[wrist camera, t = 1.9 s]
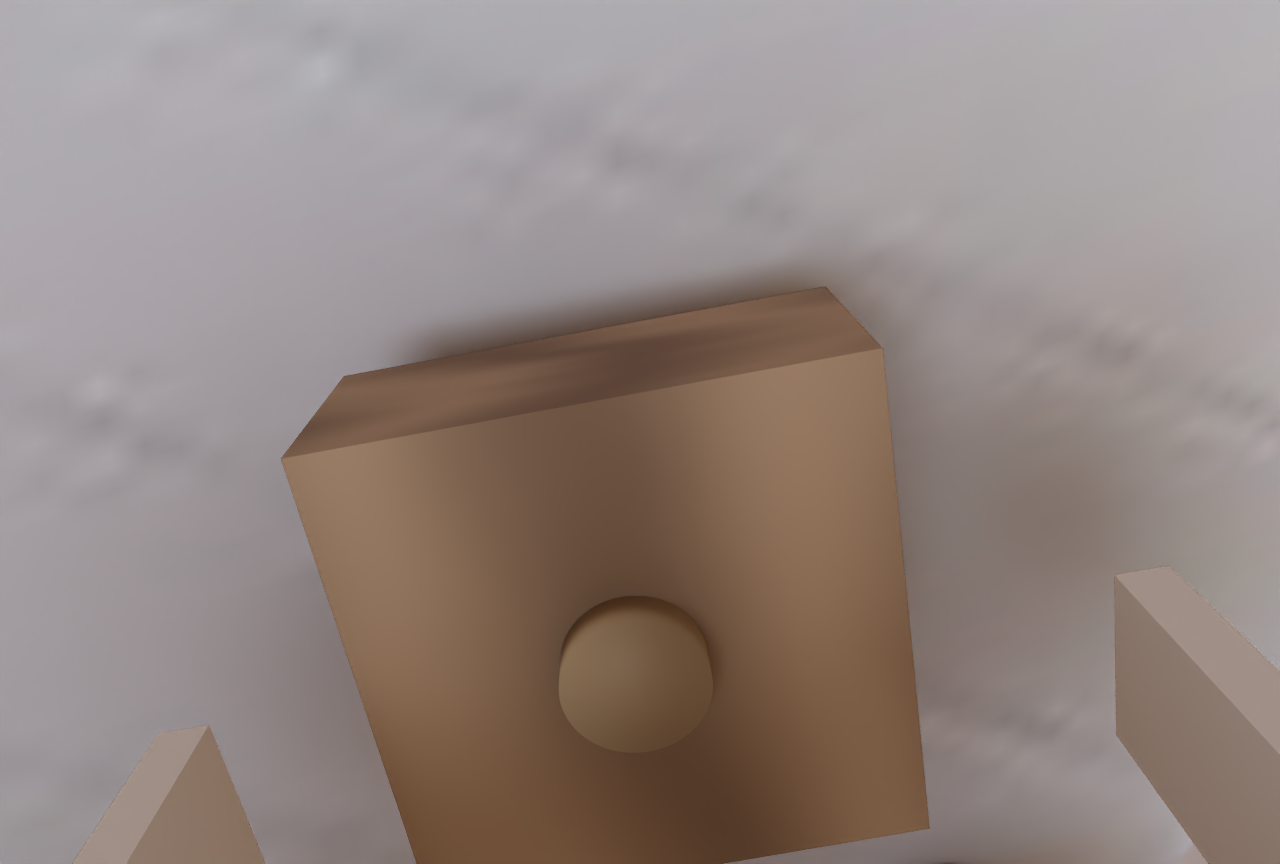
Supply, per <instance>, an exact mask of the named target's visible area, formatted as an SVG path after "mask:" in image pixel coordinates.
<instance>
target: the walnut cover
mask: <svg viewBox="0 0 1280 864" xmlns="http://www.w3.org/2000/svg"><path fill="white" fill-rule="evenodd" d="M281 461H282V464H283V467H284V470H285V473H286V476H287V479H288V482H289V485H290V488H291V491H292V494H293V497H294V500H295V503H296V506H297V509H298V512H299V515H300V518H301V520H302V523H303V526H304V529H305V532H306V535H307V538H308V541H309V544H310V547H311V550H312V553H313V556H314V559H315V562H316V565H317V568H318V571H319V574H320V577H321V580H322V583H323V586H324V589H325V592H326V595H327V598H328V601H329V604H330V607H331V610H332V613H333V616H334V619H335V622H336V625H337V628H338V631H339V633H340V636H341V639H342V642H343V645H344V648H345V651H346V654H347V657H348V660H349V663H350V666H351V669H352V672H353V675H354V678H355V681H356V684H357V687H358V690H359V693H360V696H361V699H362V702H363V705H364V708H365V711H366V714H367V717H368V720H369V723H370V726H371V729H372V732H373V735H374V738H375V741H376V744H377V746H378V749H379V752H380V755H381V758H382V761H383V764H384V767H385V770H386V773H387V776H388V779H389V782H390V785H391V788H392V791H393V794H394V797H395V800H396V803H397V806H398V809H399V812H400V815H401V818H402V821H403V824H404V827H405V830H406V833H407V836H408V839H409V842H410V845H411V848H412V851H413V854H414V857H415V859H416V862H417V864H723V863H729V862H735V861H741V860H747V859H753V858H758V857H764V856H770V855H776V854H782V853H788V852H794V851H800V850H805V849H811V848H817V847H823V846H829V845H835V844H841V843H847V842H852V841H858V840H864V839H870V838H876V837H882V836H888V835H894V834H900V833H905V832H911V831H917V830H923V829H929V828H930V827H929V817H928V807H927V796H926V786H925V776H924V766H923V756H922V745H921V735H920V725H919V715H918V704H917V694H916V684H915V674H914V664H913V653H912V643H911V633H910V623H909V613H908V602H907V592H906V582H905V572H904V561H903V551H902V541H901V531H900V521H899V510H898V500H897V490H896V480H895V470H894V459H893V449H892V439H891V429H890V418H889V408H888V398H887V388H886V378H885V367H884V357H883V348H882V347H881V346H880V345H879V344H878V343H877V342H876V340H875V339H874V338H873V337H872V336H871V335H870V334H869V333H868V332H867V331H866V330H865V329H864V328H863V326H862V325H861V324H860V323H859V322H858V321H857V320H856V319H855V318H854V317H853V316H852V315H851V314H850V313H849V311H848V310H847V309H846V308H845V307H844V306H843V305H842V304H841V303H840V302H839V301H838V300H837V299H836V297H835V296H834V295H833V294H832V293H831V292H830V291H829V290H828V289H827V288H826V287H820V288H815V289H810V290H804V291H799V292H793V293H788V294H783V295H777V296H772V297H767V298H761V299H756V300H751V301H745V302H740V303H734V304H729V305H724V306H718V307H713V308H708V309H702V310H697V311H691V312H686V313H681V314H675V315H670V316H665V317H659V318H654V319H648V320H643V321H638V322H632V323H627V324H622V325H616V326H611V327H606V328H600V329H595V330H589V331H584V332H579V333H573V334H568V335H563V336H557V337H552V338H546V339H541V340H536V341H530V342H525V343H520V344H514V345H509V346H503V347H498V348H493V349H487V350H482V351H477V352H471V353H466V354H461V355H455V356H450V357H444V358H439V359H434V360H428V361H423V362H418V363H412V364H407V365H401V366H396V367H391V368H385V369H380V370H375V371H369V372H364V373H359V374H353V375H348V376H344V377H343V378H342V379H341V381H340V382H339V383H338V385H337V386H336V387H335V389H334V390H333V391H332V393H331V394H330V395H329V396H328V398H327V399H326V400H325V402H324V403H323V404H322V406H321V407H320V408H319V410H318V411H317V412H316V413H315V415H314V416H313V417H312V419H311V420H310V421H309V423H308V424H307V425H306V427H305V428H304V429H303V430H302V432H301V433H300V434H299V436H298V437H297V438H296V440H295V441H294V442H293V444H292V445H291V446H290V447H289V449H288V450H287V451H286V453H285V454H284V455H283V457H282V458H281Z"/></svg>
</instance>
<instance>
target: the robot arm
mask: <svg viewBox="0 0 1280 864" xmlns="http://www.w3.org/2000/svg"><path fill="white" fill-rule="evenodd" d="M1114 596H1115V678H1116V735H1117V736H1118V738H1119V739H1120V741H1121V742H1122V744H1123V745H1124V746H1125V748H1126V749H1127V751H1128V752H1129V753H1130V755H1131V756H1132V758H1133V759H1134V760H1135V762H1136V763H1137V765H1138V766H1139V767H1140V769H1141V770H1142V772H1143V773H1144V774H1145V776H1146V777H1147V779H1148V780H1149V781H1150V783H1151V784H1152V786H1153V787H1154V788H1155V790H1156V791H1157V793H1158V794H1159V795H1160V797H1161V798H1162V800H1163V801H1164V802H1165V804H1166V805H1167V807H1168V808H1169V809H1170V811H1171V812H1172V814H1173V815H1174V816H1175V818H1176V819H1177V821H1178V822H1179V823H1180V825H1181V826H1182V828H1183V829H1184V830H1185V832H1186V833H1187V835H1188V836H1189V837H1190V839H1191V840H1192V842H1193V843H1194V844H1195V846H1196V847H1197V849H1198V850H1199V851H1200V853H1201V854H1202V856H1203V857H1204V858H1205V860H1206V861H1207V863H1208V864H1280V671H1279V670H1278V669H1277V668H1275V667H1274V666H1273V665H1272V664H1271V663H1270V662H1269V661H1268V660H1267V659H1266V658H1265V657H1264V656H1263V655H1262V654H1261V653H1260V652H1259V651H1258V650H1257V649H1256V648H1255V647H1254V646H1253V645H1251V644H1250V643H1249V642H1248V641H1247V640H1246V639H1245V638H1244V637H1243V636H1242V635H1241V634H1240V633H1239V632H1238V631H1237V630H1236V629H1235V628H1234V627H1233V626H1232V625H1231V624H1230V623H1229V622H1228V621H1226V620H1225V619H1224V618H1223V617H1222V616H1221V615H1220V614H1219V613H1218V612H1217V611H1216V610H1215V609H1214V608H1213V607H1212V606H1211V605H1210V604H1209V603H1208V602H1207V601H1206V600H1205V599H1204V598H1202V597H1201V596H1200V595H1199V594H1198V593H1197V592H1196V591H1195V590H1194V589H1193V588H1192V587H1191V586H1190V585H1189V584H1188V583H1187V582H1186V581H1185V580H1184V579H1183V578H1182V577H1181V576H1180V575H1178V574H1177V573H1176V572H1175V571H1174V570H1173V569H1172V568H1171V567H1170V566H1166V567H1160V568H1154V569H1148V570H1142V571H1136V572H1130V573H1124V574H1118V575H1114ZM72 864H265V861H264V859H263V856H262V854H261V852H260V849H259V847H258V844H257V842H256V839H255V837H254V834H253V832H252V829H251V827H250V825H249V822H248V820H247V817H246V815H245V812H244V810H243V807H242V805H241V802H240V800H239V797H238V795H237V793H236V790H235V788H234V785H233V783H232V780H231V778H230V775H229V773H228V770H227V768H226V766H225V763H224V761H223V758H222V756H221V753H220V751H219V748H218V746H217V743H216V741H215V739H214V736H213V734H212V731H211V729H210V726H209V725H205V726H199V727H193V728H187V729H181V730H175V731H169V732H163V733H158V735H157V736H156V738H155V739H154V741H153V742H152V744H151V745H150V747H149V748H148V750H147V751H146V753H145V754H144V756H143V757H142V759H141V760H140V762H139V763H138V765H137V766H136V768H135V769H134V771H133V772H132V774H131V775H130V777H129V778H128V780H127V781H126V783H125V785H124V786H123V788H122V789H121V791H120V792H119V794H118V795H117V797H116V798H115V800H114V801H113V803H112V804H111V806H110V807H109V809H108V810H107V812H106V813H105V815H104V816H103V818H102V819H101V821H100V822H99V824H98V825H97V827H96V828H95V830H94V831H93V833H92V834H91V836H90V837H89V839H88V840H87V842H86V843H85V845H84V846H83V848H82V849H81V851H80V852H79V854H78V855H77V857H76V858H75V860H74V861H73V863H72Z"/></svg>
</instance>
